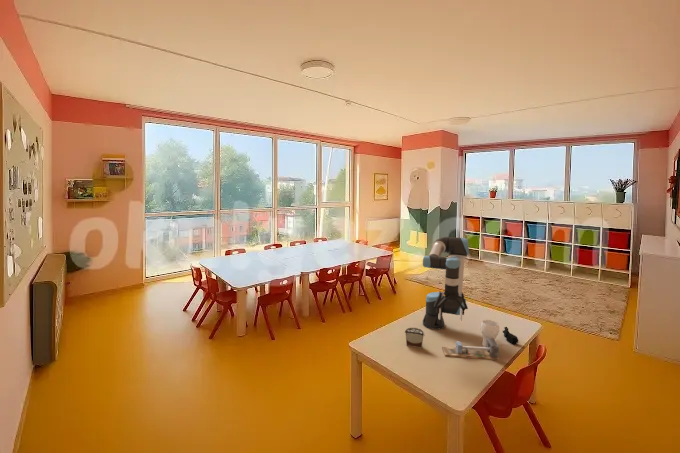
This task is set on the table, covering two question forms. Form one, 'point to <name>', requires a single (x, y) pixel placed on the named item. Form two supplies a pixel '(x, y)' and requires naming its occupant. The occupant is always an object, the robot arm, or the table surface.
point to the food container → (414, 337)
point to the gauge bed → (475, 351)
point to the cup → (489, 330)
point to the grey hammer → (469, 348)
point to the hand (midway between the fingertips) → (450, 319)
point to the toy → (510, 337)
